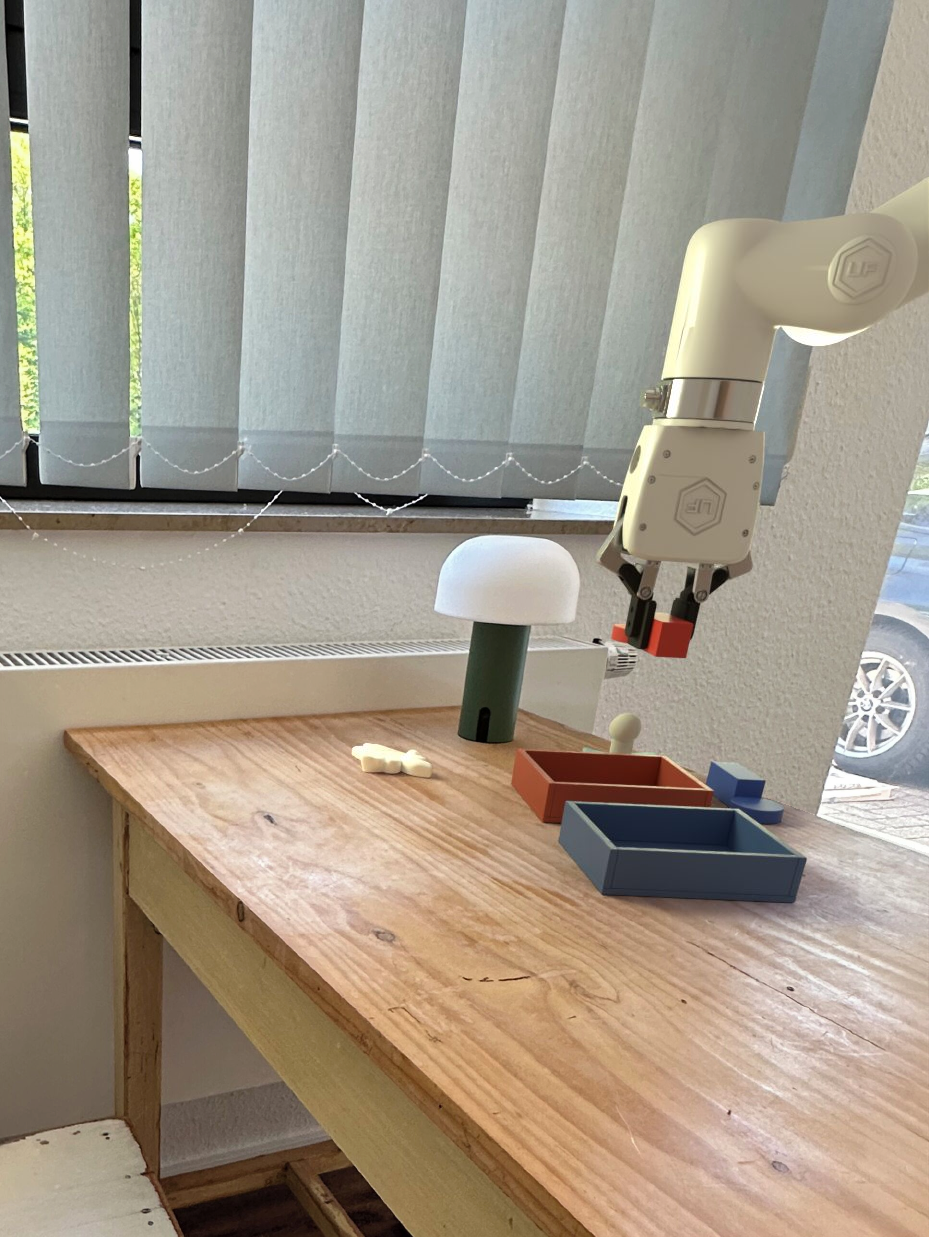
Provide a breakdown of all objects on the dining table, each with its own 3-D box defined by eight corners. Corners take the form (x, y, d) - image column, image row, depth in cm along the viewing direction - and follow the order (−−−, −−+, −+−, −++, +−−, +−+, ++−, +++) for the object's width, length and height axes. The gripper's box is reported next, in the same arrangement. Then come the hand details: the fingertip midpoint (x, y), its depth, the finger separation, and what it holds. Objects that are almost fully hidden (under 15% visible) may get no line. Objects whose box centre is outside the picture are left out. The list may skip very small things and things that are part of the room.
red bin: (657, 790, 102) (665, 755, 101) (705, 829, 92) (714, 790, 91) (510, 784, 102) (516, 748, 100) (542, 822, 92) (549, 783, 90)
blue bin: (728, 849, 88) (739, 808, 86) (794, 903, 78) (807, 858, 76) (557, 841, 87) (565, 800, 86) (601, 894, 77) (610, 849, 76)
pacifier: (571, 761, 111) (583, 776, 106) (582, 701, 109) (595, 713, 103) (643, 767, 111) (659, 781, 105) (655, 706, 108) (672, 718, 103)
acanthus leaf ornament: (431, 779, 102) (434, 760, 102) (360, 776, 102) (362, 757, 101) (418, 757, 109) (420, 739, 108) (351, 754, 109) (352, 736, 108)
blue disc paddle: (695, 788, 104) (701, 760, 103) (739, 790, 104) (746, 762, 103) (741, 822, 94) (748, 792, 93) (790, 825, 95) (798, 794, 93)
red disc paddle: (697, 659, 88) (704, 624, 87) (644, 656, 88) (651, 621, 87) (651, 638, 97) (658, 606, 96) (604, 635, 97) (610, 603, 96)
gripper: (620, 400, 80) (574, 650, 87) (832, 414, 80) (769, 661, 88) (589, 403, 87) (549, 635, 94) (784, 415, 87) (730, 645, 95)
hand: (656, 645), depth 91 cm, fingers closed on red disc paddle, 2 cm apart
